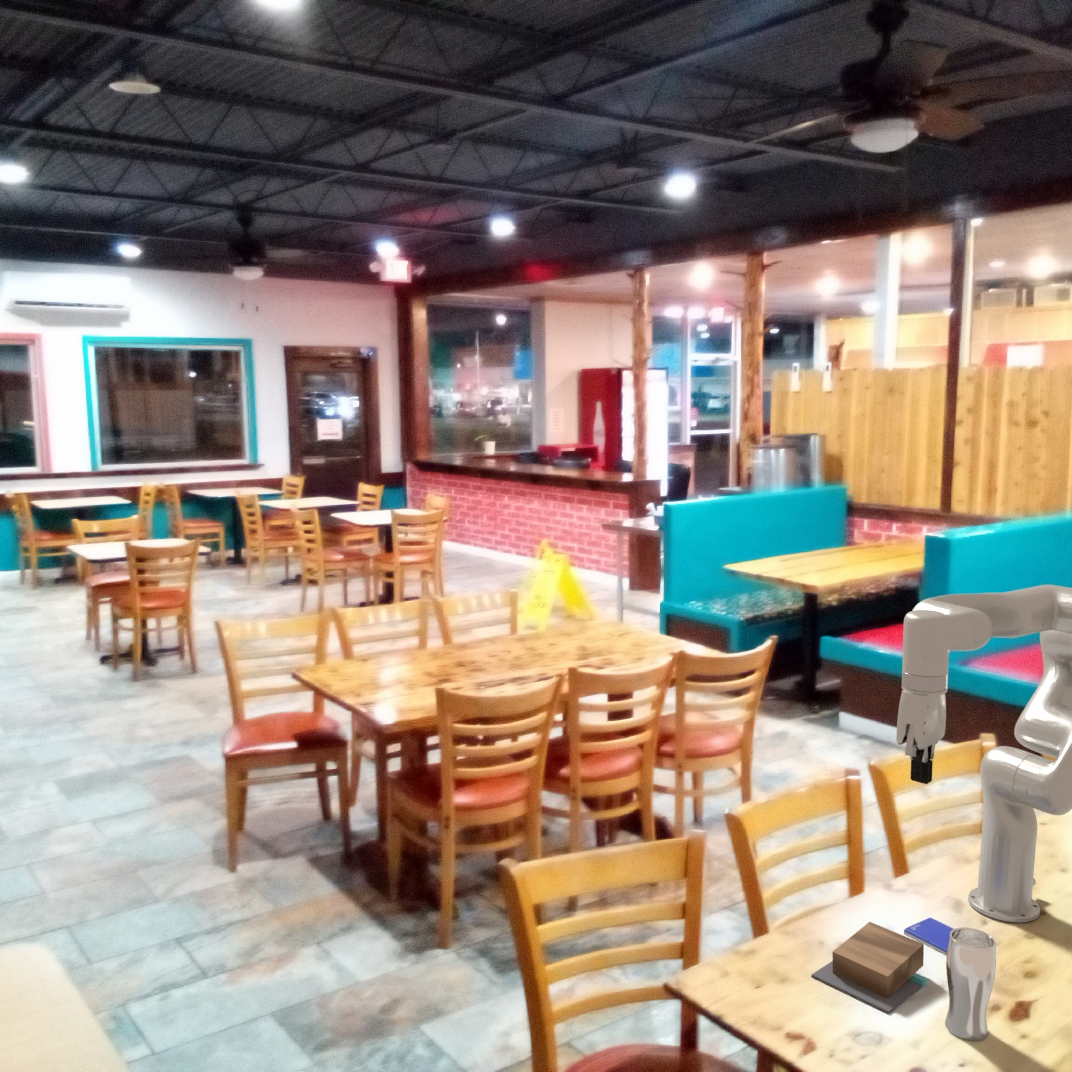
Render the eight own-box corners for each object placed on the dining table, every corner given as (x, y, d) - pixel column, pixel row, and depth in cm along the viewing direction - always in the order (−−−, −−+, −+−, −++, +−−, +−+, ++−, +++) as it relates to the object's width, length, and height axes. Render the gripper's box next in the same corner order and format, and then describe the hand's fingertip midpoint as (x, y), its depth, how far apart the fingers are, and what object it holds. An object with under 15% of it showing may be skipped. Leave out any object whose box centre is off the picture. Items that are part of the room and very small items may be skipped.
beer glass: (967, 1047, 152) (973, 953, 150) (932, 1021, 158) (938, 931, 156) (1000, 1036, 155) (1008, 944, 153) (965, 1011, 161) (971, 923, 159)
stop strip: (850, 950, 179) (851, 944, 179) (926, 984, 168) (926, 978, 168) (847, 953, 178) (847, 946, 178) (922, 987, 168) (923, 980, 168)
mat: (846, 953, 178) (846, 951, 178) (921, 988, 167) (922, 985, 167) (811, 976, 170) (811, 974, 170) (888, 1013, 160) (888, 1011, 160)
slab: (869, 921, 178) (832, 951, 170) (923, 944, 171) (887, 976, 163) (869, 942, 179) (832, 972, 171) (923, 965, 171) (887, 998, 164)
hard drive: (903, 928, 185) (965, 959, 175) (930, 916, 189) (992, 945, 179) (903, 936, 185) (964, 967, 175) (930, 924, 190) (992, 954, 179)
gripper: (923, 668, 185) (920, 764, 187) (883, 686, 174) (880, 787, 177) (964, 676, 179) (960, 774, 182) (926, 695, 169) (922, 799, 172)
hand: (921, 780), depth 179 cm, fingers closed
